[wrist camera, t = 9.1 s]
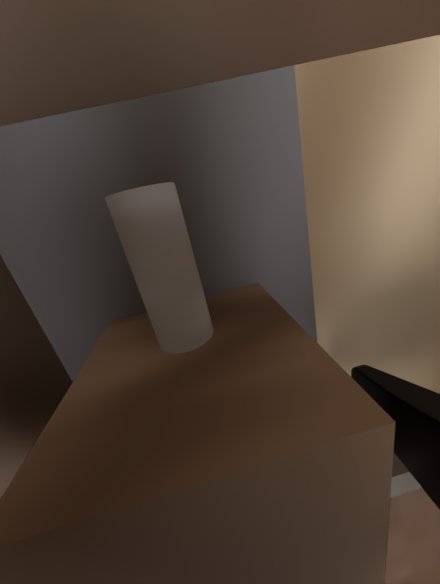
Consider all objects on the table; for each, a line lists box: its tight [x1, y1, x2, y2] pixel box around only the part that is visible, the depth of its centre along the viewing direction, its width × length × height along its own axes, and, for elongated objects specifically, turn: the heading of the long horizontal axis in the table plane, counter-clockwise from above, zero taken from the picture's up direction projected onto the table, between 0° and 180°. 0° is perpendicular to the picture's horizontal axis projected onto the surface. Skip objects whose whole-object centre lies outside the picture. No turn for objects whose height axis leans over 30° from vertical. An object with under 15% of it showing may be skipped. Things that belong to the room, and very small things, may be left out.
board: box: [0, 35, 440, 498], centre depth 8 cm, size 21×14×4 cm, turn 102°
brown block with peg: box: [0, 182, 396, 584], centre depth 5 cm, size 4×10×5 cm, turn 12°
